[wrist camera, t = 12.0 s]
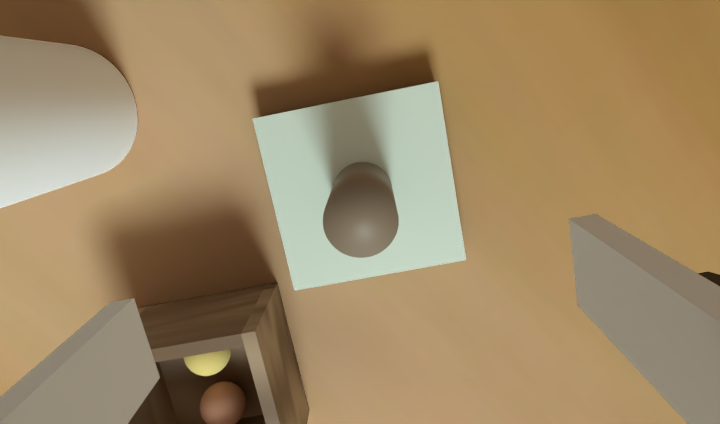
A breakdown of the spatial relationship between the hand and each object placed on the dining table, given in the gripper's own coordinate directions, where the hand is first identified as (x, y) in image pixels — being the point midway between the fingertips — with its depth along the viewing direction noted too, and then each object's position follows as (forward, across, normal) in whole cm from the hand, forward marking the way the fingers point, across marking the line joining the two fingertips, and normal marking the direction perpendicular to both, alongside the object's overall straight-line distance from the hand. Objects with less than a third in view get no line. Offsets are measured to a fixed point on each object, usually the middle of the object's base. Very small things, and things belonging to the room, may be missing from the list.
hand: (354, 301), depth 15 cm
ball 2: (+16, -12, -13) cm, 24 cm away
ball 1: (+16, -12, -9) cm, 22 cm away
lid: (+18, 0, 0) cm, 18 cm away
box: (+18, -12, -11) cm, 24 cm away
